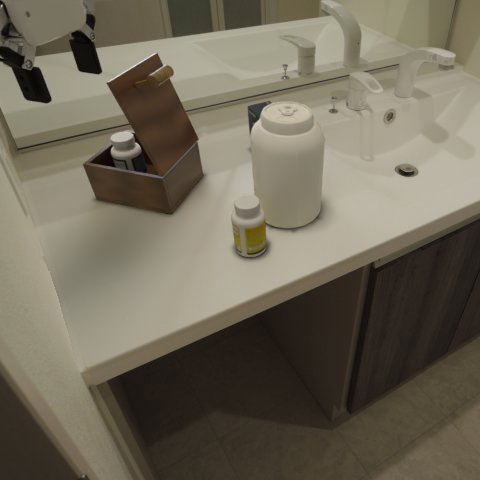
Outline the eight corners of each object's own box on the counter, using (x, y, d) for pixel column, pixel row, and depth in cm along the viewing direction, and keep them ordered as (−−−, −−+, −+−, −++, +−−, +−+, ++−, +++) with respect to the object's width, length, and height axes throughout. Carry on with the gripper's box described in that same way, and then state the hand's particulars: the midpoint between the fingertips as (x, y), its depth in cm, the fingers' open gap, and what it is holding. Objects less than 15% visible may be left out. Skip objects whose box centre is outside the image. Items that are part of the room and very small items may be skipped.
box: (250, 149, 95) (246, 105, 88) (272, 143, 98) (270, 100, 91) (265, 165, 91) (263, 120, 84) (288, 159, 93) (288, 114, 86)
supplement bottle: (272, 241, 73) (269, 195, 66) (258, 261, 69) (255, 215, 62) (244, 233, 74) (239, 188, 67) (229, 253, 70) (222, 207, 64)
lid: (105, 82, 62) (134, 75, 60) (153, 53, 72) (179, 46, 70) (160, 177, 72) (185, 173, 70) (195, 139, 81) (219, 136, 80)
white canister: (258, 189, 84) (252, 92, 71) (320, 190, 85) (325, 95, 71) (251, 229, 75) (242, 127, 61) (321, 231, 75) (327, 130, 62)
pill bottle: (147, 171, 86) (135, 127, 79) (151, 184, 82) (139, 140, 76) (119, 176, 84) (104, 132, 77) (122, 191, 80) (107, 145, 74)
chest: (96, 199, 79) (82, 164, 74) (136, 163, 89) (126, 129, 84) (171, 214, 77) (162, 179, 72) (203, 175, 87) (197, 141, 82)
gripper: (35, -94, 48) (83, 60, 59) (-113, -85, 35) (-16, 109, 46) (94, -89, 47) (132, 67, 58) (-36, -78, 34) (45, 119, 45)
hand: (66, 85), depth 52 cm, fingers open, 9 cm apart
